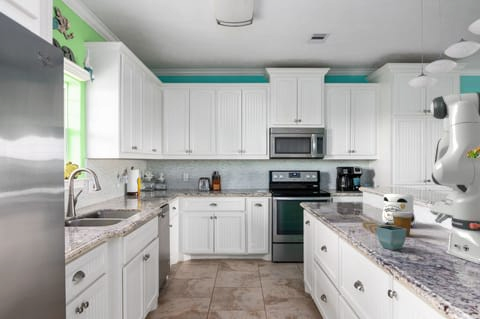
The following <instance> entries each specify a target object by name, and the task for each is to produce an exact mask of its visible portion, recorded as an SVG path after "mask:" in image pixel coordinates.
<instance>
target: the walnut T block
mask: <svg viewBox="0 0 480 319" xmlns="http://www.w3.org/2000/svg"><path fill="white" fill-rule="evenodd" d="M361 224H362V226H361V228H363V229H365V230H367V231H369V232H371V233H373V234H375V235H377V228H376V227H378V226H394V225H387V224H379V223H376V222H374V221H361Z"/></svg>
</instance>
